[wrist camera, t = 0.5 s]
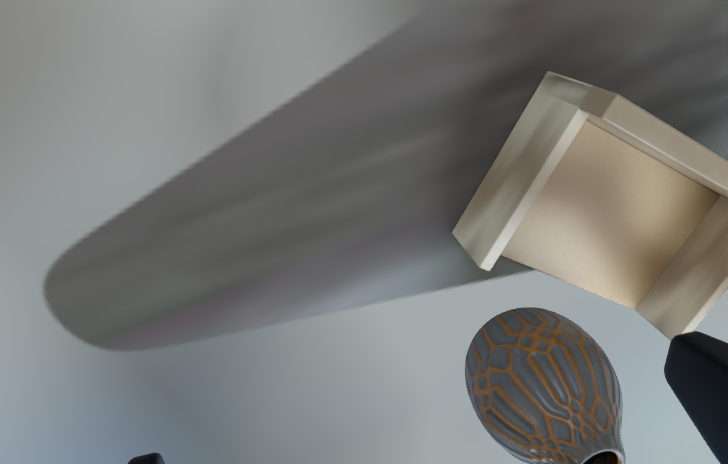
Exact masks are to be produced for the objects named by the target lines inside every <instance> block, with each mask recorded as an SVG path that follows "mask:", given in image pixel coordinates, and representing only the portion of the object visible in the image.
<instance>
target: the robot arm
mask: <svg viewBox="0 0 728 464" xmlns="http://www.w3.org/2000/svg"><path fill="white" fill-rule="evenodd" d="M664 373H665V377H666V380H667V382H668V384H669V385H670V387H671V389H672V390H673V392H674V393H675V395H676V396H677V398H678V399H679V401H680V402H681V404H682V406H683V407H684V409H685V410H686V412H687V414H688V415H689V417H690V418H691V420H692V421H693V423H694V425H695V426H696V427H697V429H698V431H699V432H700V434H701V435H702V437H703V438H704V440H705V441H706V443H707V445H708V446H709V448H710V449H711V451H712V452H713V454H714V455H715V457H716V458H717V459H718V461H719V462H720V463H721V464H728V343H726V342H723V341H721V340H718V339H716V338H713V337H711V336H709V335H706V334H703V333H701V332H697V331H693V332H688V333H683V334H679V335H676V336H674V337H673V338H672V340H671V343H670V347H669V351H668V355H667V359H666V363H665V367H664ZM128 464H165V463H164V460H163V458H162V456H161V455H160V454H159V453H151V454H147V455H143V456H138V457H135V458H133V459H132V460H131V461H129V463H128Z"/></svg>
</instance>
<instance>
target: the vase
mask: <svg viewBox="0 0 728 464" xmlns="http://www.w3.org/2000/svg"><path fill="white" fill-rule="evenodd" d="M465 378H466V385H467V390H468V394H469V397H470V400H471V403H472V405H473V408H474V410H475V412H476V414H477V416H478V418H479V419H480V421H481V423H482V424H483V426H484V427H485V429H486V430H487V431H488V433H489V434H490V435H491V436H492V437H493V438H494V439H495V441H496V442H498V443H499V444H500V445H501V446H502V447H503V448H504V449H505V450H506V451H508V452H509V453H510V454H512V455H513V456H515V457H516V458H518V459H520V460H521V461H523V462H525V463H527V464H625V453H624V449H623V445H622V441H621V425H622V394H621V389H620V385H619V382H618V379H617V376H616V374H615V371H614V369H613V367H612V365H611V363H610V361H609V359H608V357H607V356H606V354H605V353H604V351H603V350H602V349H601V347H600V346H599V345H598V344H597V343H596V342H595V340H594V339H593V338H592V337H590V335H589V334H588V333H586V332H585V331H584V330H583V329H582V328H581V327H579V326H578V325H577V324H575V323H574V322H572V321H571V320H569V319H567V318H565V317H564V316H561V315H559V314H557V313H555V312H552V311H548V310H545V309H541V308H517V309H513V310H509V311H506V312H503V313H501V314H499V315H497V316H495V317H494V318H492V319H491V320H489V321H488V322H487V323H486V324H485V325H484V326H483V327H482V328H481V329H480V330H479V331H478V332H477V334H476V335H475V337H474V338H473V340H472V342H471V344H470V347H469V350H468V353H467V356H466V363H465Z"/></svg>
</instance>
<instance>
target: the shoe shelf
mask: <svg viewBox="0 0 728 464" xmlns="http://www.w3.org/2000/svg"><path fill="white" fill-rule="evenodd" d="M452 234H453V235H454V237H455V238H456V239H457V240H458V242H459V243H460V244H461V245H462V247H463V248H464V249H465V250H466V252H467V253H468V254H469V255H470V257H471V258H472V259H473V260H474V262H475V263H476V264H477V265H478V267H479V268H481V269H484V270H487V271H490V270H491V269H492V267H493V265H494V264H495V262H496V261H497V259H498V258H499V256H500V255H501V256H504V257H506V258H509V259H511V260H513V261H516V262H518V263H521V264H523V265H526V266H528V267H531V268H533V269H536V270H538V271H541V272H543V273H546V274H548V275H550V276H553V277H555V278H558V279H560V280H563V281H565V282H568V283H570V284H572V285H575V286H577V287H580V288H582V289H585V290H587V291H590V292H592V293H595V294H597V295H600V296H602V297H605V298H607V299H610V300H612V301H614V302H617V303H620V304H622V305H624V306H627V307H629V308H632V309H634V310H636V311H637V312H638V313H639V314H640V315H641V316H643V317H644V318H645V319H646V320H647V321H648V322H650V323H651V324H652V325H653V326H654V327H655V328H657V329H658V330H659V331H660V332H661V333H662V334H664V335H665V336H666V337H667V338H668V339H669V340H672V338H673V337H674V336H676V335H679V334H683V333H688V332H692V331H693V330H694V329H695V328H696V326H697V325H698V324H699V323H700V322H701V320H702V319H703V318H704V317H705V315H706V314H707V313H708V311H709V310H710V309H711V308H712V307H713V305H714V304H715V303H716V302H717V300H718V299H719V298H720V297H721V296H722V294H723V293H724V292H725V291H726V289H727V288H728V160H726V159H724V158H723V157H721V156H720V155H718V154H716V153H715V152H713V151H711V150H710V149H708V148H706V147H705V146H703V145H701V144H700V143H698V142H696V141H695V140H693V139H692V138H690V137H688V136H687V135H685V134H683V133H682V132H680V131H678V130H677V129H675V128H673V127H672V126H670V125H668V124H667V123H665V122H664V121H662V120H660V119H659V118H657V117H655V116H654V115H652V114H650V113H649V112H647V111H645V110H644V109H642V108H640V107H639V106H637V105H636V104H634V103H632V102H631V101H629V100H627V99H626V98H624V97H622V96H621V95H619V94H617V93H614V92H611V91H608V90H605V89H602V88H599V87H596V86H593V85H590V84H587V83H584V82H581V81H578V80H575V79H572V78H569V77H566V76H563V75H559V74H556V73H553V72H550V71H547V73H546V74H545V76H544V78H543V80H542V81H541V83H540V85H539V86H538V88H537V90H536V91H535V93H534V95H533V96H532V98H531V100H530V101H529V103H528V105H527V106H526V108H525V110H524V112H523V113H522V115H521V117H520V118H519V120H518V122H517V123H516V125H515V127H514V128H513V130H512V132H511V133H510V135H509V137H508V139H507V140H506V142H505V144H504V145H503V147H502V149H501V150H500V152H499V154H498V155H497V157H496V159H495V160H494V162H493V164H492V166H491V167H490V169H489V171H488V172H487V174H486V176H485V177H484V179H483V181H482V182H481V184H480V186H479V187H478V189H477V191H476V193H475V194H474V196H473V198H472V199H471V201H470V203H469V204H468V206H467V208H466V209H465V211H464V213H463V214H462V216H461V218H460V220H459V221H458V223H457V225H456V226H455V228H454V230H453V231H452Z"/></svg>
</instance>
